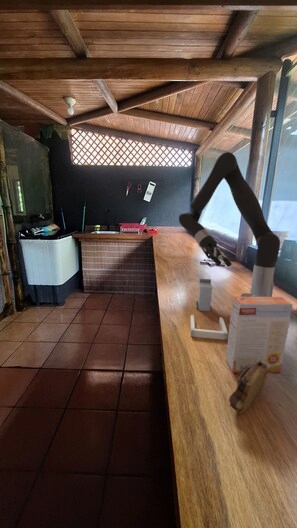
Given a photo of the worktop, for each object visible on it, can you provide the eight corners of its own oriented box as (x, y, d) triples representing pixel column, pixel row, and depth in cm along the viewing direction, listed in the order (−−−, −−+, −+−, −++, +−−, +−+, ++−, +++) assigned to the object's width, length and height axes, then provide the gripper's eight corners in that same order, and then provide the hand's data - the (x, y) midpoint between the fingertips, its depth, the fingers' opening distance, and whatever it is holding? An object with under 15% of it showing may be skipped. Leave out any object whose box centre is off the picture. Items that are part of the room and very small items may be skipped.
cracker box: (269, 360, 72) (281, 295, 66) (281, 373, 66) (294, 304, 61) (224, 359, 71) (232, 295, 66) (231, 373, 65) (241, 304, 60)
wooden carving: (248, 379, 63) (253, 346, 61) (266, 387, 61) (272, 353, 58) (222, 419, 51) (227, 380, 49) (243, 432, 48) (249, 391, 46)
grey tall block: (209, 304, 110) (212, 279, 107) (211, 311, 104) (213, 284, 100) (196, 303, 111) (198, 278, 108) (197, 310, 104) (199, 283, 101)
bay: (222, 323, 93) (222, 317, 92) (227, 340, 82) (227, 333, 81) (190, 320, 95) (190, 314, 94) (190, 336, 83) (191, 330, 83)
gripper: (201, 233, 108) (222, 258, 100) (218, 236, 118) (238, 260, 109) (191, 244, 112) (210, 270, 104) (208, 247, 122) (227, 271, 113)
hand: (225, 265), depth 106 cm, fingers open, 8 cm apart
